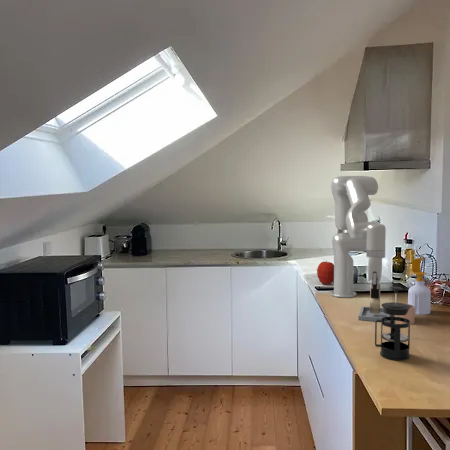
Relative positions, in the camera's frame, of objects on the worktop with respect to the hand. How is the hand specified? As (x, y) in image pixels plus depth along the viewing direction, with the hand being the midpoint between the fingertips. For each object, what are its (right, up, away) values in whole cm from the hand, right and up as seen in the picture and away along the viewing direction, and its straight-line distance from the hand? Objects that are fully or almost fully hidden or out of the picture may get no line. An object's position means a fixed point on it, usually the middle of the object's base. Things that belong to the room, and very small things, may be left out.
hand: (375, 296), depth 204 cm
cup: (+10, -10, -7) cm, 16 cm away
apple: (-6, -3, +67) cm, 67 cm away
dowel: (0, -7, +1) cm, 7 cm away
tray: (0, -9, +1) cm, 9 cm away
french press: (-7, -14, -42) cm, 45 cm away
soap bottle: (+21, -8, +7) cm, 24 cm away
